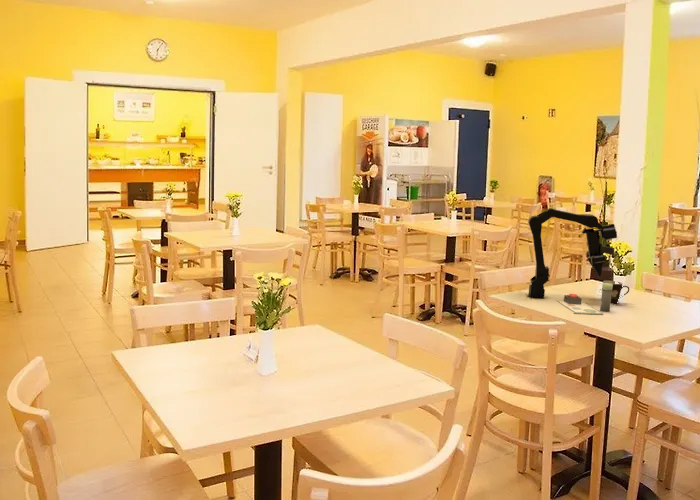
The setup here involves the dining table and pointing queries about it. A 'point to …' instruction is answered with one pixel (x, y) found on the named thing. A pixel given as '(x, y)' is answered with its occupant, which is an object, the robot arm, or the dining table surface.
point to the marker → (606, 297)
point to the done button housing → (572, 300)
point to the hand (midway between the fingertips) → (598, 274)
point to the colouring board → (581, 308)
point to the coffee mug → (616, 291)
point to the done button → (572, 295)
